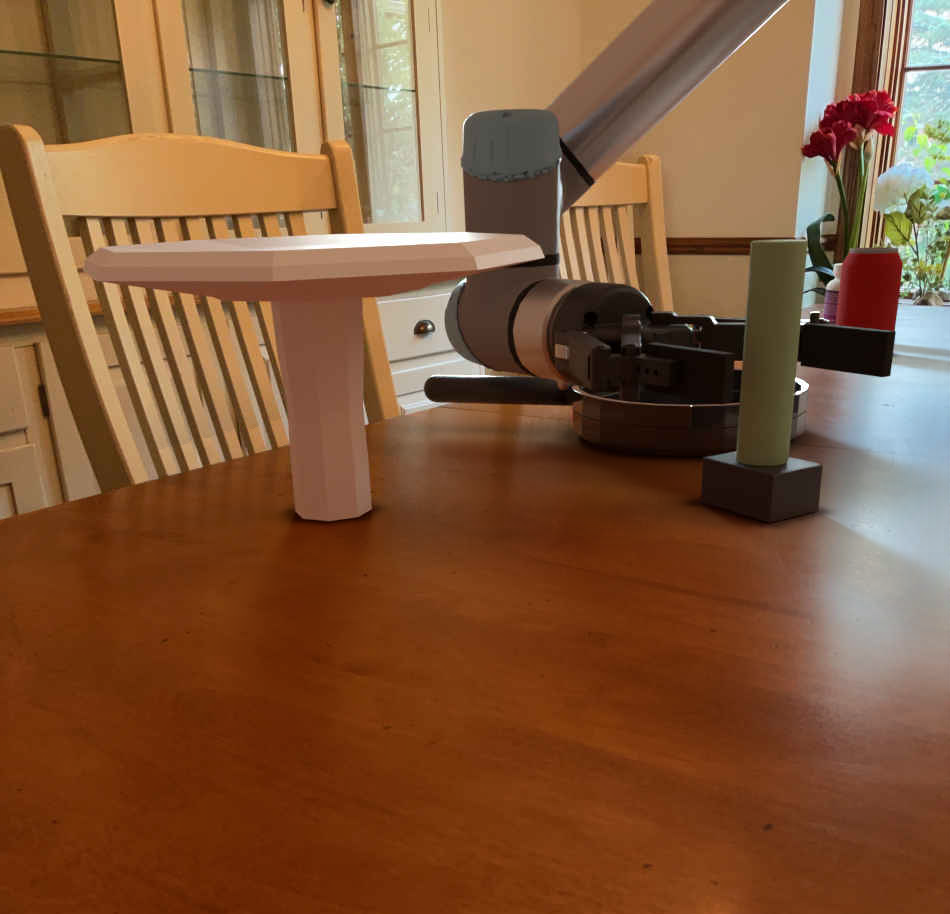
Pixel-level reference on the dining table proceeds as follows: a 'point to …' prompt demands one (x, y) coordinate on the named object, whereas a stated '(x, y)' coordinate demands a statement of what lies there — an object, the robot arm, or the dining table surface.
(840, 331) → the robot arm
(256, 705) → the dining table surface
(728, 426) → the frying pan
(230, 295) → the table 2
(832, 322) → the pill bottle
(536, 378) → the pan handle
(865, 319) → the beverage can
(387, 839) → the dining table surface
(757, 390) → the green peg on base
